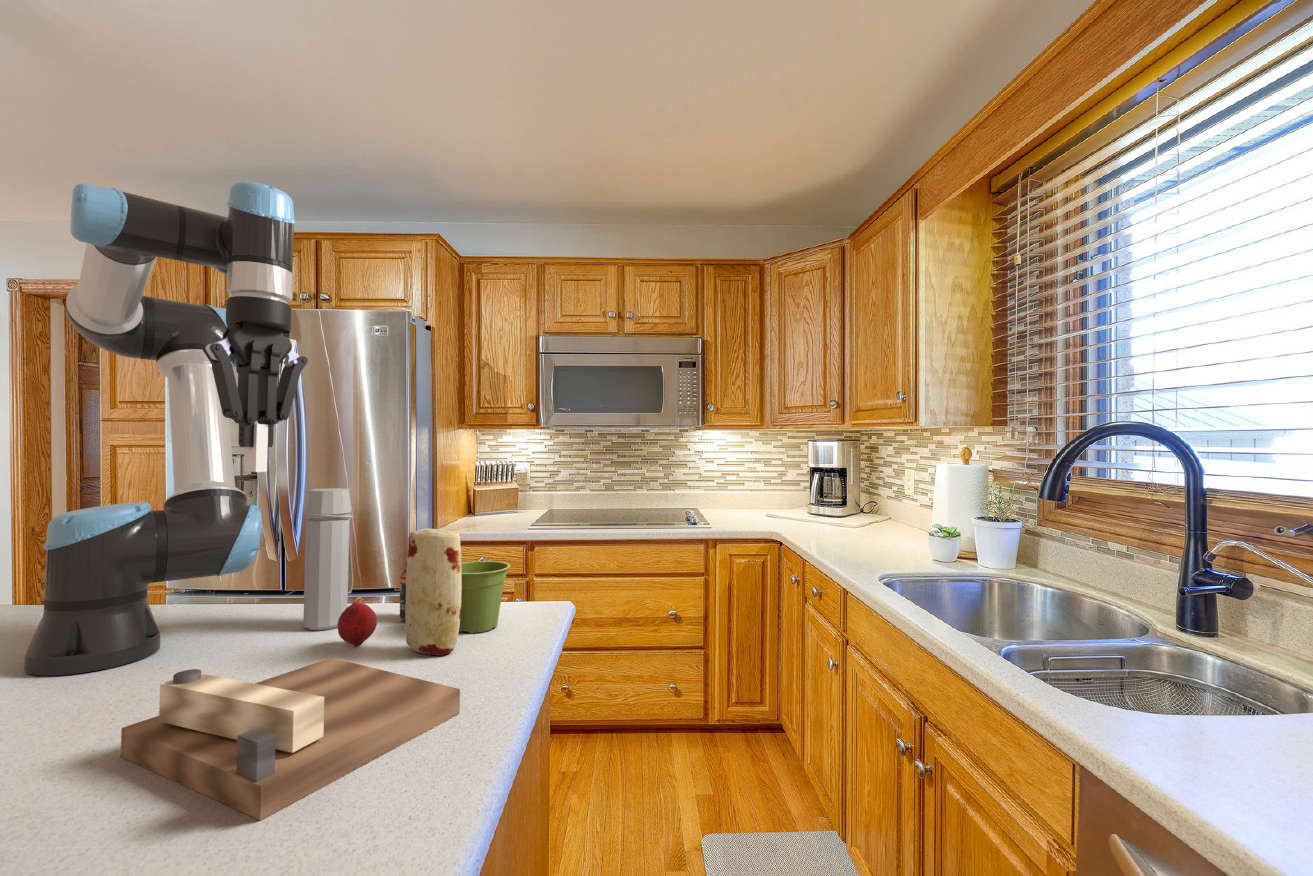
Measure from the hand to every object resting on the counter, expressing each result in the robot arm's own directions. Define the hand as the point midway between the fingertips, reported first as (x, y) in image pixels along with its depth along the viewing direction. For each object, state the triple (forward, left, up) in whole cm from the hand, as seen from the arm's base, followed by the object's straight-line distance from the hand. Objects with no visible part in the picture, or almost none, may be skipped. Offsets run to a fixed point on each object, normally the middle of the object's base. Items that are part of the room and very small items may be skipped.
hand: (255, 471), depth 82 cm
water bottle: (-17, +24, -30) cm, 42 cm away
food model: (+11, +22, -30) cm, 38 cm away
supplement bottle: (-6, +34, -30) cm, 45 cm away
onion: (-2, +18, -30) cm, 35 cm away
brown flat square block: (+19, -5, -29) cm, 35 cm away
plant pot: (+8, +35, -30) cm, 47 cm away
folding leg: (+19, -12, -26) cm, 34 cm away
